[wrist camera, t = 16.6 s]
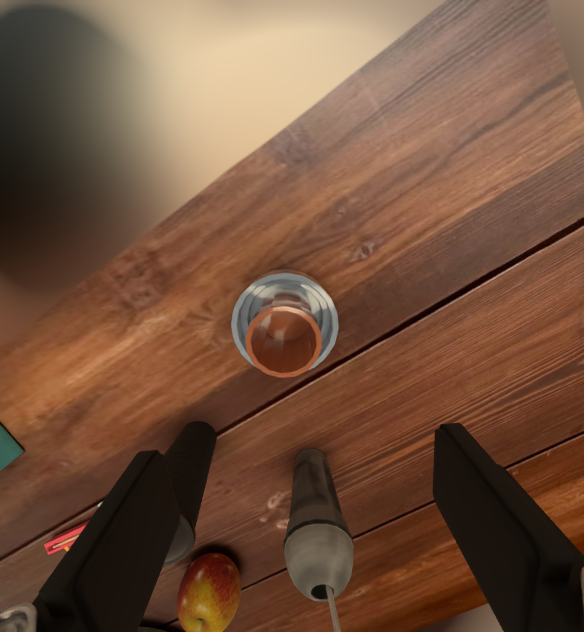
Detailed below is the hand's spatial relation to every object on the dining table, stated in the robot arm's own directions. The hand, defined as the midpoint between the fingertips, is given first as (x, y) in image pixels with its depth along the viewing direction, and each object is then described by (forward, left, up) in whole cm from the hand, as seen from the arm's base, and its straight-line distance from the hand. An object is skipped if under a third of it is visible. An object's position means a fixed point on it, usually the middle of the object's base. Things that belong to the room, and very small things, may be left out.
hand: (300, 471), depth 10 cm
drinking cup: (+17, -15, -26) cm, 34 cm away
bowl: (+1, -1, -25) cm, 25 cm away
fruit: (+41, -17, -26) cm, 51 cm away
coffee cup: (+1, -1, -25) cm, 25 cm away
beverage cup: (+23, 0, -26) cm, 35 cm away
